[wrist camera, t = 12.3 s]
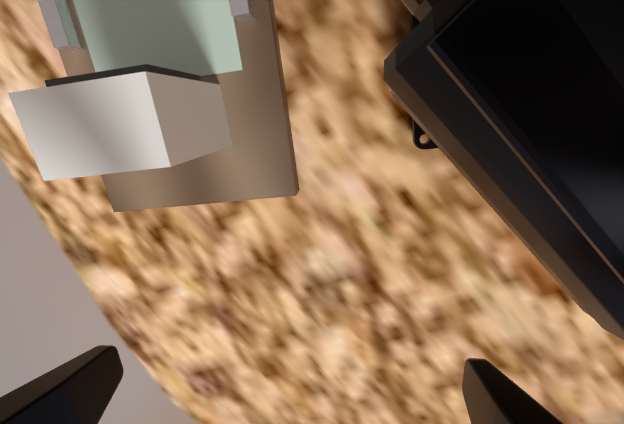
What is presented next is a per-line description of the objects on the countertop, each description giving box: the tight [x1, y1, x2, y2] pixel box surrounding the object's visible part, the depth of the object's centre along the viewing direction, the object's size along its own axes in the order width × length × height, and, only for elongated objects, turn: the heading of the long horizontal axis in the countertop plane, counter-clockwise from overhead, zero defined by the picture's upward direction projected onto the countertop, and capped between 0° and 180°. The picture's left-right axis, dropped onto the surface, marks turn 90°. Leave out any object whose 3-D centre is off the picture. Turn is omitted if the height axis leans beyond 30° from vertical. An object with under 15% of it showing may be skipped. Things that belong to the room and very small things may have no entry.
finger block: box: [8, 64, 232, 181], centre depth 13 cm, size 5×3×6 cm
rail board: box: [58, 0, 299, 212], centre depth 15 cm, size 11×20×1 cm, turn 7°
